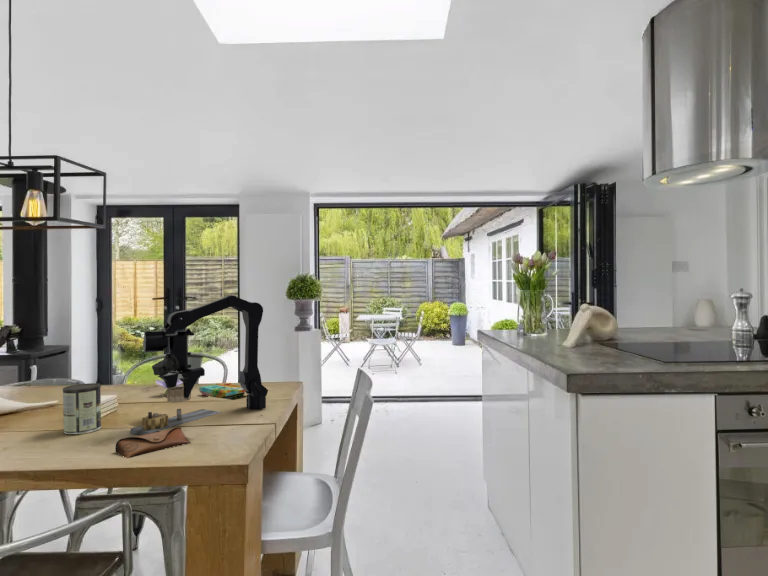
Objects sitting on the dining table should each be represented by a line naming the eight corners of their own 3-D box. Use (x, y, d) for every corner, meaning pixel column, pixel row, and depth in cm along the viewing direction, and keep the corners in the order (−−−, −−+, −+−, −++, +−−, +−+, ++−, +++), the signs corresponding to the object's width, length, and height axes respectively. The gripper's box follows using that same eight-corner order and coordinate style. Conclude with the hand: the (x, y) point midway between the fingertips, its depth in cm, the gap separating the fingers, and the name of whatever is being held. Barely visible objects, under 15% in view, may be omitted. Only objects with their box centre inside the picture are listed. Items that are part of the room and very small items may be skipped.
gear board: (222, 416, 162) (221, 398, 163) (150, 437, 139) (150, 416, 139) (202, 413, 167) (202, 395, 167) (130, 433, 144) (130, 413, 144)
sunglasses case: (125, 459, 121) (120, 434, 123) (117, 467, 125) (113, 443, 127) (193, 442, 134) (188, 420, 136) (184, 450, 138) (179, 428, 140)
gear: (195, 398, 155) (195, 386, 155) (176, 403, 149) (176, 390, 149) (181, 396, 158) (181, 385, 158) (162, 401, 152) (162, 389, 152)
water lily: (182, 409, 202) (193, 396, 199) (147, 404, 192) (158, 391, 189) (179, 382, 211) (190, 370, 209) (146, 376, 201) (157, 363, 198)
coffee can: (82, 425, 154) (82, 382, 154) (108, 426, 152) (108, 383, 152) (54, 434, 144) (54, 389, 144) (81, 436, 142) (81, 390, 142)
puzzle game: (223, 380, 207) (250, 385, 194) (223, 391, 207) (250, 397, 194) (199, 385, 197) (225, 390, 185) (199, 396, 197) (225, 402, 185)
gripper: (138, 351, 151) (138, 399, 151) (175, 354, 142) (176, 405, 142) (168, 347, 161) (169, 392, 161) (205, 350, 152) (206, 397, 151)
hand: (179, 397), depth 153 cm, fingers closed on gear, 7 cm apart
